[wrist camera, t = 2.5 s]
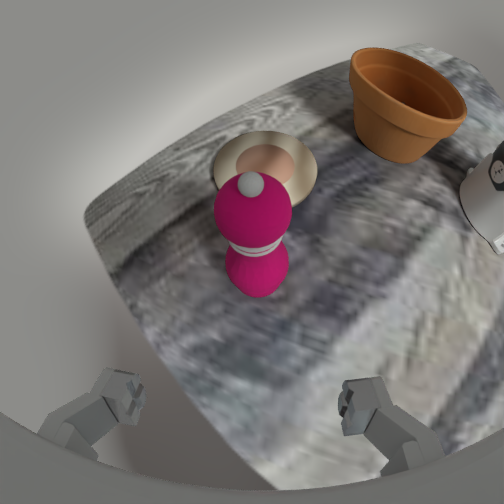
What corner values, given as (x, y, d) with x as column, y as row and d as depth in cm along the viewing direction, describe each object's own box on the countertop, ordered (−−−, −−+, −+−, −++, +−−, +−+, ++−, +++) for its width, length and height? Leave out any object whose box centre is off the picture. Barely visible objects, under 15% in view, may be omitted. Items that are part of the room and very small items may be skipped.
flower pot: (430, 199, 39) (473, 143, 26) (322, 147, 44) (336, 76, 30) (436, 132, 46) (462, 83, 33) (351, 92, 51) (364, 37, 37)
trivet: (310, 136, 45) (311, 131, 44) (321, 213, 39) (322, 209, 38) (219, 136, 46) (218, 131, 45) (209, 213, 40) (208, 209, 39)
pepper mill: (283, 304, 34) (305, 230, 16) (226, 298, 35) (183, 221, 16) (287, 250, 37) (306, 142, 19) (234, 246, 38) (207, 136, 19)
